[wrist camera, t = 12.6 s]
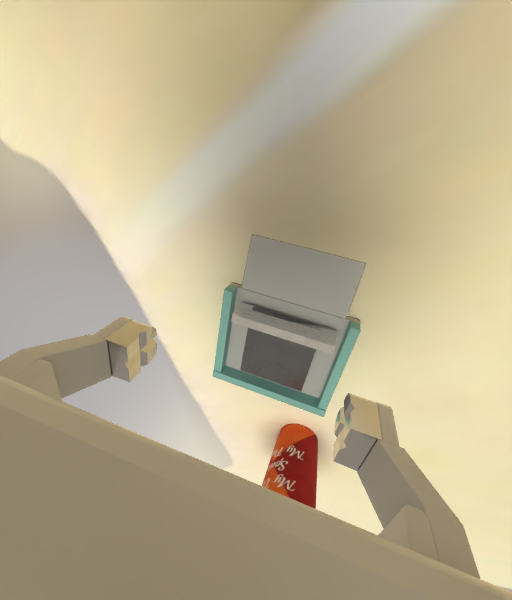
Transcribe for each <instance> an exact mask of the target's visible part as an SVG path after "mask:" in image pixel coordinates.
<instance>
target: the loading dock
mask: <svg viewBox="0 0 512 600" xmlns="http://www.w3.org/2000/svg"><path fill="white" fill-rule="evenodd" d="M365 265H366V263H363V262H359V261H355V260H352V259H348V258H344V257H340V256H336V255H332V254H328V253H324V252H320V251H316V250H312V249H308V248H304V247H300V246H296V245H292V244H289V243H285V242H281V241H277V240H273V239H269V238H265V237H261V236H257V235H253V234H252V238H251V243H250V248H249V253H248V258H247V263H246V268H245V273H244V278H243V283H242V285H239V284H235V283H231V284H230V285H229V286H228V287H227V288H226V289H225V290H224V296H223V304H222V312H221V319H220V327H219V335H218V343H217V350H216V358H215V366H214V371H213V377H216V378H218V379H221V380H224V381H227V382H229V383H232V384H235V385H238V386H240V387H243V388H246V389H249V390H251V391H254V392H257V393H259V394H262V395H265V396H268V397H270V398H273V399H276V400H279V401H281V402H284V403H287V404H290V405H292V406H295V407H298V408H301V409H303V410H306V411H309V412H311V413H314V414H317V415H320V416H322V417H324V415H325V412H326V409H327V407H328V404H329V402H330V400H331V397H332V395H333V393H334V390H335V388H336V386H337V384H338V381H339V379H340V377H341V374H342V372H343V370H344V367H345V365H346V363H347V361H348V358H349V356H350V354H351V351H352V349H353V347H354V344H355V342H356V340H357V337H358V335H359V333H360V320H358V319H355V318H351V317H348V316H347V314H348V312H349V309H350V306H351V303H352V301H353V298H354V295H355V292H356V290H357V287H358V284H359V281H360V279H361V276H362V273H363V270H364V268H365ZM241 303H246V304H249V305H252V306H255V307H259V308H262V309H265V310H269V311H272V312H275V313H279V314H282V315H285V316H288V317H292V318H295V319H298V320H302V321H305V322H308V323H311V324H315V325H318V326H321V327H325V328H328V329H331V330H334V331H337V335H336V347H335V350H334V353H333V355H332V354H329V353H326V352H323V351H320V350H317V349H316V351H315V354H314V357H313V360H312V363H311V365H310V368H309V371H308V374H307V377H306V380H305V382H304V385H303V388H302V391H298V390H295V389H292V388H290V387H287V386H284V385H281V384H278V383H275V382H273V381H270V380H267V379H264V378H261V377H258V376H256V375H253V374H250V373H247V372H244V371H241V370H240V367H241V362H242V357H243V352H244V346H245V341H246V336H247V330H248V327H245V326H242V325H239V324H236V323H232V322H231V320H232V314H233V313H234V312H235V310H236V309H237V308H238V307H239V305H240V304H241Z"/></svg>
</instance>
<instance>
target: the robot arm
mask: <svg viewBox="0 0 512 600" xmlns="http://www.w3.org/2000/svg"><path fill="white" fill-rule="evenodd" d="M156 335H157V334H156V329H155V328H154V327H152V326H149V325H147V324H144V323H141V322H138V321H136V320H132V319H130V318H127V317H120V318H118V319H117V320H115V321H114V322H112V323H111V324H109V325H108V326H106V327H105V328H104V329H102V330H100V331H99V332H97V333H96V334H94V335H85V336H80V337H76V338H71V339H67V340H62V341H58V342H53V343H49V344H44V345H40V346H36V347H31V348H27V349H22V350H20V351H18V352H16V353H15V354H13V355H11V356H9V357H7V358H6V359H4V360H2V361H0V600H512V592H509V591H507V590H505V589H502V588H500V587H498V586H495V585H493V584H491V583H488V582H486V581H483V580H481V579H480V576H479V573H478V570H477V567H476V564H475V561H474V558H473V554H472V551H471V548H470V545H469V542H468V539H467V536H466V533H465V530H464V527H463V525H462V523H461V522H460V521H459V519H458V518H457V517H456V516H455V514H454V513H453V512H452V510H451V509H450V508H449V506H448V505H447V504H446V503H445V501H444V500H443V499H442V497H441V496H440V495H439V493H438V492H437V491H436V490H435V488H434V487H433V486H432V484H431V483H430V482H429V480H428V479H427V478H426V477H425V475H424V474H423V473H422V471H421V470H420V469H419V467H418V466H417V465H416V464H415V462H414V461H413V460H412V458H411V457H410V456H409V454H408V453H407V452H406V451H405V449H404V448H401V447H399V441H398V436H397V431H396V426H395V421H394V416H393V411H392V408H391V407H389V406H386V405H383V404H380V403H377V402H376V403H375V402H373V401H370V400H367V399H364V398H361V397H358V396H355V395H352V394H349V393H348V395H347V396H346V398H345V400H344V407H342V408H340V410H339V413H338V415H337V419H336V423H335V435H336V437H337V439H336V441H335V443H334V462H337V463H339V464H342V465H344V466H346V467H349V468H351V469H354V470H356V471H358V472H357V473H358V475H359V477H360V479H361V481H362V484H363V486H364V488H365V490H366V492H367V494H368V496H369V498H370V501H371V503H372V505H373V507H374V509H375V511H376V513H377V515H378V518H379V520H380V522H381V524H382V526H383V528H384V529H383V531H382V532H381V533H380V534H379V535H375V534H373V533H371V532H368V531H366V530H364V529H361V528H359V527H356V526H354V525H352V524H349V523H347V522H345V521H342V520H340V519H338V518H335V517H333V516H331V515H328V514H326V513H324V512H321V511H319V510H316V509H314V508H312V507H309V506H307V505H305V504H302V503H300V502H298V501H295V500H293V499H291V498H288V497H286V496H283V495H281V494H279V493H276V492H274V491H272V490H269V489H267V488H265V487H262V486H260V485H258V484H255V483H253V482H250V481H248V480H246V479H243V478H241V477H239V476H236V475H234V474H232V473H229V472H227V471H224V470H222V469H220V468H217V467H215V466H213V465H210V464H208V463H206V462H203V461H201V460H198V459H196V458H194V457H191V456H189V455H187V454H184V453H182V452H180V451H177V450H175V449H172V448H170V447H168V446H166V445H163V444H161V443H159V442H156V441H154V440H152V439H149V438H147V437H145V436H142V435H140V434H137V433H135V432H133V431H130V430H128V429H126V428H123V427H121V426H119V425H116V424H114V423H112V422H109V421H107V420H104V419H102V418H100V417H97V416H95V415H93V414H90V413H88V412H85V411H83V410H81V409H79V408H76V407H74V406H72V405H69V404H67V403H65V402H62V398H64V397H66V396H68V395H71V394H73V393H75V392H77V391H80V390H82V389H84V388H86V387H89V386H91V385H94V384H96V383H98V382H100V381H103V380H105V379H107V378H110V377H111V376H114V377H117V378H120V379H123V380H126V381H129V382H130V381H131V380H132V379H133V378H134V377H135V376H136V375H137V374H138V373H139V372H140V371H141V366H144V365H147V364H148V363H149V362H150V361H151V360H152V359H153V357H154V355H155V353H156V349H157V344H156V342H155V340H154V337H155V336H156Z"/></svg>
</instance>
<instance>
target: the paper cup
mask: <svg viewBox="0 0 512 600" xmlns="http://www.w3.org/2000/svg"><path fill="white" fill-rule="evenodd" d="M317 454H318V442H317V437H316V435H315V434H314V433H313V432H312V431H311V430H310V429H309V428H307V427H305V426H303V425H299V424H288V425H286V426H284V427H283V428H282V429H281V431H280V434H279V436H278V439H277V442H276V445H275V448H274V451H273V454H272V457H271V460H270V463H269V466H268V469H267V472H266V475H265V478H264V481H263V484H262V487H265V488H267V489H269V490H272V491H274V492H276V493H279V494H281V495H283V496H286V497H288V498H291V499H293V500H295V501H298V502H300V503H302V504H305V505H307V506H309V507H312V508H314V509H316V484H317Z"/></svg>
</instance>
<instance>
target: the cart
mask: <svg viewBox="0 0 512 600" xmlns="http://www.w3.org/2000/svg"><path fill="white" fill-rule="evenodd" d="M231 322H232V323H236V324H239V325H242V326H245V327H248V330H247V336H246V341H245V346H244V352H243V357H242V362H241V367H240V370H241V371H244V372H247V373H250V374H253V375H256V376H258V377H261V378H264V379H267V380H270V381H273V382H275V383H278V384H281V385H284V386H287V387H290V388H292V389H295V390H298V391H302V388H303V385H304V382H305V380H306V377H307V374H308V371H309V368H310V365H311V363H312V360H313V357H314V354H315V351H316V349H317V350H320V351H323V352H326V353H329V354H332V355H333V353H334V350H335V347H336V335H337V331H334V330H331V329H328V328H325V327H321V326H318V325H315V324H311V323H308V322H305V321H302V320H298V319H295V318H292V317H288V316H285V315H282V314H279V313H275V312H272V311H269V310H265V309H262V308H259V307H255V306H252V305H249V304H246V303H241V304H240V305H239V307H238V308H237V309H236V310H235V312H234V313H233V314H232V320H231Z"/></svg>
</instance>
